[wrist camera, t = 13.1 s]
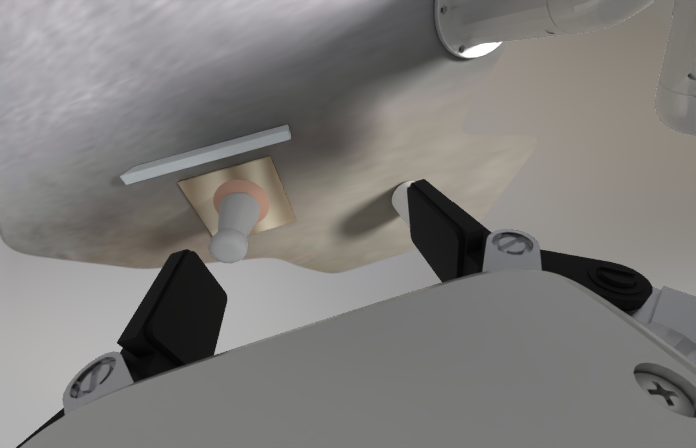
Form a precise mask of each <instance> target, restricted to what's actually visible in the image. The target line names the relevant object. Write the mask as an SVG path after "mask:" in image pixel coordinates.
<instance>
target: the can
mask: <svg viewBox="0 0 696 448" xmlns="http://www.w3.org/2000/svg"><path fill="white" fill-rule="evenodd" d="M412 182H415V181H408V182H405V183H403V184H401V185H400V186H398V187H397V188H396V190H395V191H394V193H393V196H392V205H393V207H394V208H395V210H396V211H397V212H398V214H399V215H400V216H401V217H402V219H403V220H404V221H405V223H406V224H407V225H408V227H409V228H410V222H409V210H408V198H407V187H410V184H411V183H412Z"/></svg>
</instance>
